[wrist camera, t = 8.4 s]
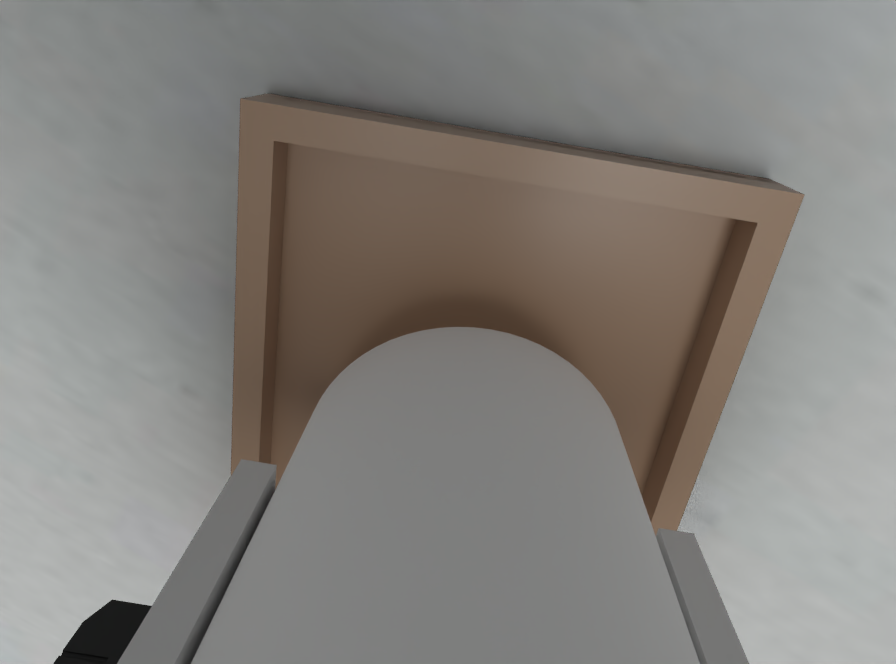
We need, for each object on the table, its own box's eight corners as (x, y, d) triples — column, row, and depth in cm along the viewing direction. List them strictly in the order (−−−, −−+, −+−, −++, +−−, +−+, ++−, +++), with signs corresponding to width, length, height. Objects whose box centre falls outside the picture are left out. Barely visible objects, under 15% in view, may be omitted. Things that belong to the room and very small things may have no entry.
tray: (268, 93, 16) (240, 98, 15) (769, 179, 17) (804, 194, 15) (248, 568, 23) (227, 613, 21) (610, 628, 23) (620, 678, 21)
